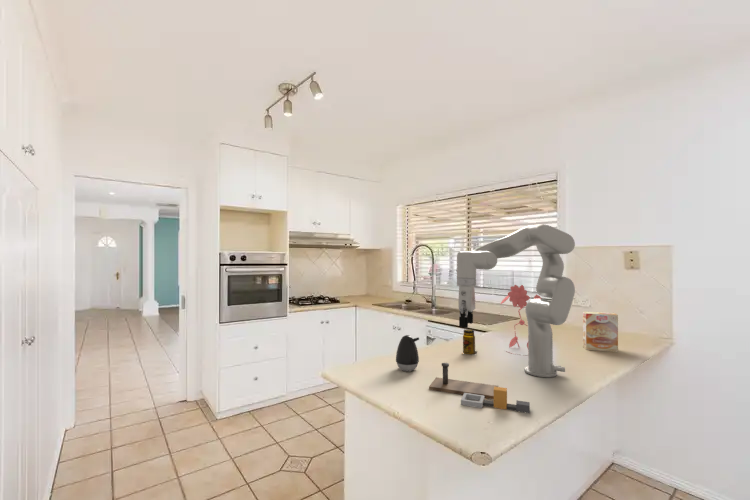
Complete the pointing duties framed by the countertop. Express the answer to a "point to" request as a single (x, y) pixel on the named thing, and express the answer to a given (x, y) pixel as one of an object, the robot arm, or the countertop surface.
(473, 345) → the condiment
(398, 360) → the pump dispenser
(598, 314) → the coffeecake box
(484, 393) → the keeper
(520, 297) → the red flower sprig
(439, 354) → the countertop surface
